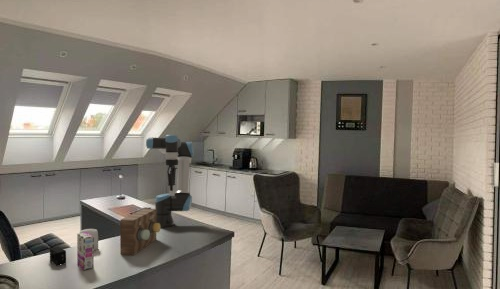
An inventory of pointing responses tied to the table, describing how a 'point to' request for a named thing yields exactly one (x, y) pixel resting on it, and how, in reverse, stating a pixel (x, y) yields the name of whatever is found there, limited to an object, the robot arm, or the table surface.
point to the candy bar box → (85, 250)
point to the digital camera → (57, 255)
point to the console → (136, 231)
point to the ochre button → (156, 227)
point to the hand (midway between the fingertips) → (171, 195)
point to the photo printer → (93, 233)
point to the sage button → (145, 234)
